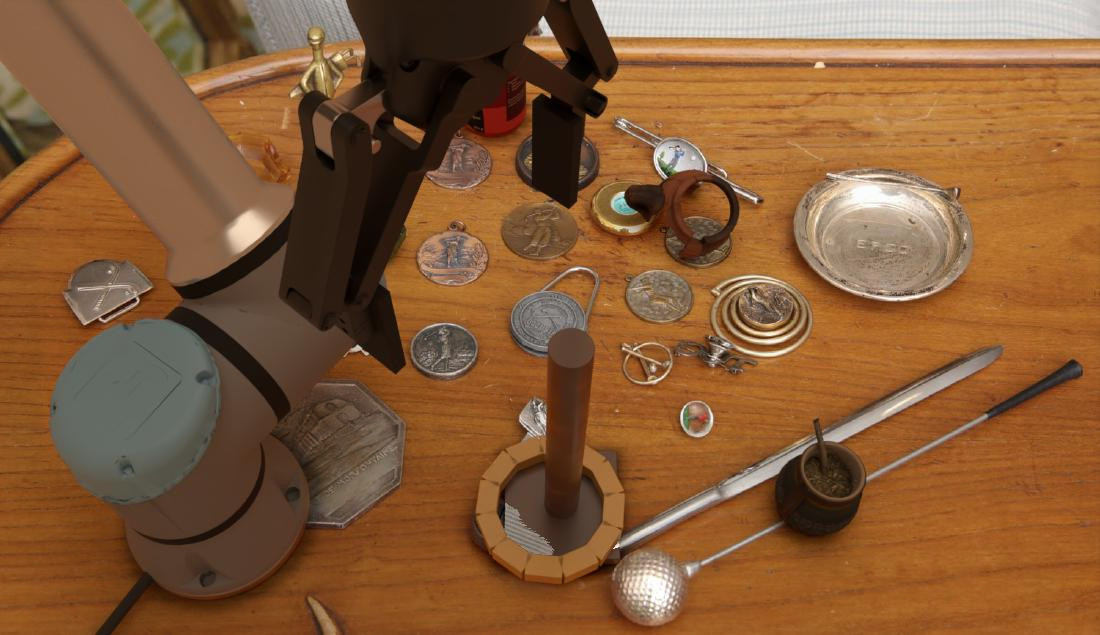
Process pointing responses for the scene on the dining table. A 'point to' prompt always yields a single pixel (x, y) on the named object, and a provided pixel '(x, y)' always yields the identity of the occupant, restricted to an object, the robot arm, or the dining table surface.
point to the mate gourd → (820, 487)
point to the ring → (538, 564)
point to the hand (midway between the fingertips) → (473, 269)
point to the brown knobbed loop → (671, 192)
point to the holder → (563, 454)
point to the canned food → (502, 111)
